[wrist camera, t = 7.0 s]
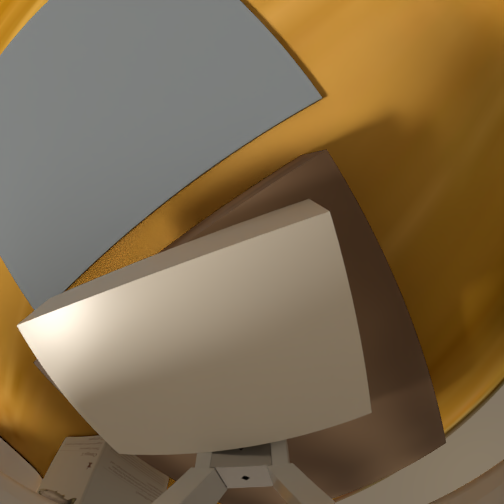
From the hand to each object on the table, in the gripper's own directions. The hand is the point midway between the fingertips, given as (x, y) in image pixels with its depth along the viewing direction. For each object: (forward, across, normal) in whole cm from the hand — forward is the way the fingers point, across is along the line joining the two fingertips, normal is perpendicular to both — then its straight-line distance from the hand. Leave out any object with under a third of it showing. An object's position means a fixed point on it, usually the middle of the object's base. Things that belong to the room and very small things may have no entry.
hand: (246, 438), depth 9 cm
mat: (+5, +7, -14) cm, 16 cm away
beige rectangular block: (+1, +1, -4) cm, 4 cm away
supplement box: (+5, +14, +11) cm, 18 cm away
